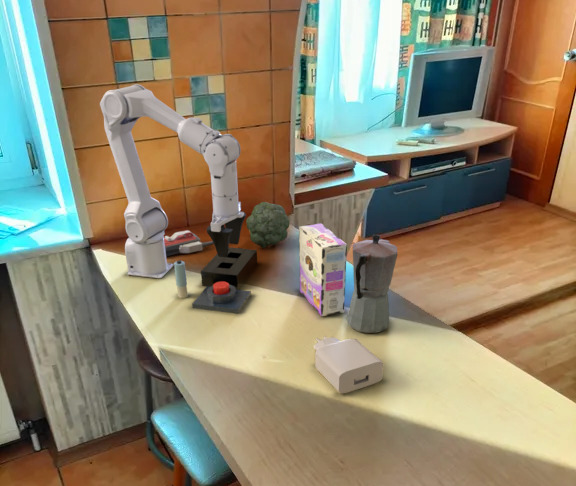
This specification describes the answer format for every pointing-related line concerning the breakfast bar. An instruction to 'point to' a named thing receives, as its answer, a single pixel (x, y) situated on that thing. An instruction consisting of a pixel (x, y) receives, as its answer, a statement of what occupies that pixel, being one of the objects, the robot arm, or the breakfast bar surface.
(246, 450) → the breakfast bar surface
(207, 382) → the breakfast bar surface
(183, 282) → the light blue tube
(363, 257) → the moka pot
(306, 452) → the breakfast bar surface
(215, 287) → the power button
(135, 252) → the robot arm
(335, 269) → the candy box
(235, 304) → the grey button base
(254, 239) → the vegetable
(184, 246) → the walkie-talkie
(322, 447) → the breakfast bar surface
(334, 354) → the charger
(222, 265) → the holder
